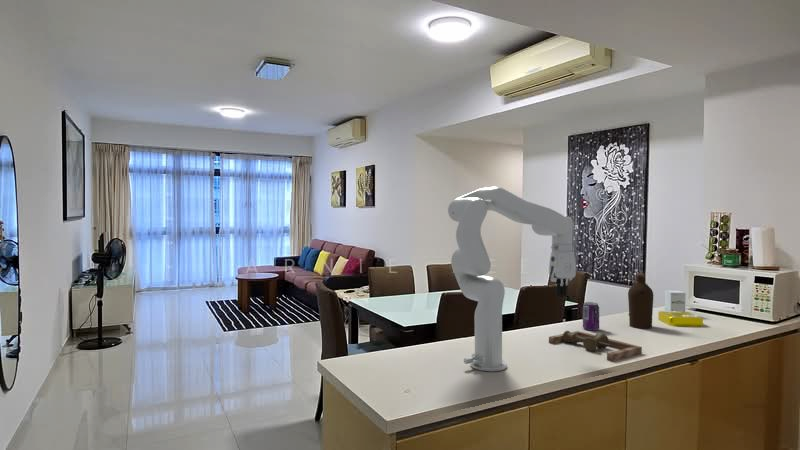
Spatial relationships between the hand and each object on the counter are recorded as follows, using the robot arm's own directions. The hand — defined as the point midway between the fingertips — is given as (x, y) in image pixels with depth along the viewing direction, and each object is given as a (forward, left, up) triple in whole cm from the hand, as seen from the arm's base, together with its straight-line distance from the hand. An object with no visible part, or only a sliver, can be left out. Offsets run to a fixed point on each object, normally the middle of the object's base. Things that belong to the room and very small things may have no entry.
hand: (561, 295), depth 176 cm
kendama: (+14, -1, -22) cm, 26 cm away
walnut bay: (+15, -3, -22) cm, 27 cm away
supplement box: (+102, +13, -22) cm, 105 cm away
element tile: (+87, +3, -22) cm, 90 cm away
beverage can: (+40, +17, -22) cm, 49 cm away
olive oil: (+64, +8, -22) cm, 68 cm away
